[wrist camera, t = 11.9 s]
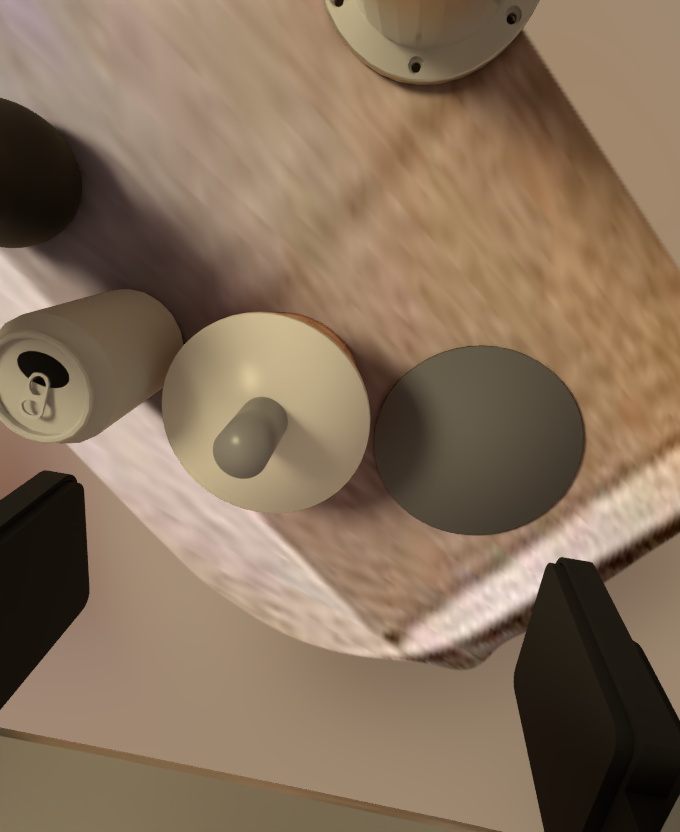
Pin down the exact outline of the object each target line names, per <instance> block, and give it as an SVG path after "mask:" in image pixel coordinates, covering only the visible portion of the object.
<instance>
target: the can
mask: <svg viewBox="0 0 680 832" xmlns="http://www.w3.org/2000/svg"><path fill="white" fill-rule="evenodd" d="M182 347H183V341H182V336H181V331H180V329H179V327H178V325H177V323H176V321H175V319H174V317H173V315H172V314H171V313H170V312H169V311H168V310H167V309H166V308H165V307H164V306H163V305H162V304H161V302H160V301H158V300H156V299H154V298H153V297H151V296H149V295H148V294H146V293H144V292H140V291H135V290H131V289H121V290H112V291H108V292H104V293H100V294H97V295H93V296H89V297H86V298H82V299H78V300H75V301H71V302H67V303H63V304H60V305H56V306H52V307H49V308H45V309H41V310H38V311H34V312H30V313H26V314H23V315H21V316H19V317H17V318H15V319H13V320H11V321H9V322H7V323H5V325H4V326H3V327H2V328H1V329H0V420H1V422H3V423H4V424H5V425H6V426H7V427H8V428H9V429H10V430H12V431H13V432H15V433H17V434H19V435H20V436H22V437H24V438H26V439H28V440H33V441H36V442H41V443H61V444H63V443H80V442H82V441H85V440H87V439H89V438H92V437H94V436H96V435H98V434H99V433H101V432H102V431H103V430H105V429H106V428H108V427H109V426H110V425H112V424H113V423H115V422H116V421H117V420H119V419H120V418H122V417H123V416H124V415H126V414H127V413H129V412H130V411H131V410H133V409H134V408H136V407H137V406H138V405H140V404H141V403H143V402H144V401H145V400H147V399H148V398H150V397H151V396H152V395H154V394H155V393H156V392H158V391H159V390H161V389H162V388H163V387H164V382H165V378H166V375H167V373H168V370H169V367H170V365H171V363H172V362H173V360H174V358H175V356H176V355H177V353H178V352H179V351H180V349H181V348H182Z"/></svg>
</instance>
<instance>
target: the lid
mask: <svg viewBox="0 0 680 832" xmlns="http://www.w3.org/2000/svg"><path fill="white" fill-rule="evenodd" d="M162 417H163V422H164V427H165V431H166V434H167V437H168V440H169V443H170V445H171V447H172V449H173V451H174V453H175V455H176V456H177V458H178V460H179V461H180V463H181V464H182V466H183V467H184V468H185V469H186V471H187V472H188V473H189V474H190V475H191V476H192V477H193V478H194V479H195V480H196V481H197V482H198V483H199V484H200V485H201V486H202V487H204V488H205V489H206V490H207V491H209V492H210V493H212V494H213V495H215V496H217V497H218V498H220V499H222V500H224V501H226V502H228V503H230V504H232V505H235V506H238V507H240V508H243V509H247V510H252V511H256V512H264V513H287V512H295V511H299V510H303V509H307V508H309V507H312V506H314V505H317V504H319V503H321V502H323V501H324V500H326V499H328V498H330V497H331V496H332V495H334V494H335V493H336V492H338V491H339V490H340V489H341V488H342V487H343V486H344V485H345V484H346V483H347V482H348V481H349V480H350V478H351V477H352V476H353V474H354V473H355V472H356V470H357V468H358V466H359V464H360V463H361V461H362V458H363V455H364V453H365V450H366V446H367V442H368V437H369V432H370V420H371V417H370V404H369V399H368V395H367V391H366V388H365V385H364V382H363V379H362V377H361V375H360V373H359V371H358V370H357V368H356V366H355V364H354V363H353V362H352V360H351V359H350V357H349V356H348V354H347V353H346V352H345V351H344V350H343V349H342V348H341V347H340V345H339V344H337V343H336V342H335V341H334V340H333V339H332V338H331V337H329V336H328V335H327V334H325V333H324V332H323V331H321V330H320V329H318V328H317V327H315V326H313V325H311V324H309V323H307V322H305V321H303V320H300V319H297V318H294V317H292V316H289V315H284V314H279V313H274V312H261V311H260V312H246V313H241V314H236V315H232V316H229V317H226V318H223V319H220V320H218V321H216V322H214V323H212V324H211V325H209V326H207V327H205V328H203V329H202V330H201V331H199V332H198V333H197V334H195V335H194V336H193V337H192V338H190V339H189V340H188V341H187V342H186V343H185V344H184V345H183V347H182V348H181V349H180V351H179V352H178V353H177V355H176V356H175V358H174V360H173V362H172V363H171V365H170V367H169V370H168V373H167V375H166V378H165V382H164V387H163V392H162Z"/></svg>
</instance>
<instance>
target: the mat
mask: <svg viewBox="0 0 680 832" xmlns="http://www.w3.org/2000/svg"><path fill="white" fill-rule="evenodd" d="M582 449H583V428H582V422H581V418H580V413H579V411H578V408H577V406H576V403H575V401H574V399H573V397H572V396H571V394H570V392H569V390H568V389H567V388H566V387H565V385H564V384H563V383H562V382H561V380H560V379H559V378H558V377H557V376H556V375H555V374H554V373H553V372H552V371H551V370H550V369H548V368H547V367H546V366H544V365H543V364H541V363H540V362H538V361H537V360H535V359H533V358H531V357H529V356H527V355H525V354H522V353H519V352H517V351H514V350H511V349H506V348H501V347H494V346H467V347H462V348H456V349H452V350H449V351H445V352H442V353H440V354H437V355H435V356H433V357H431V358H428V359H427V360H425V361H423V362H422V363H420V364H418V365H417V366H415V367H414V368H413V369H412V370H410V371H409V372H408V373H407V374H405V375H404V376H403V377H402V378H401V380H400V381H399V382H398V383H397V384H396V385H395V386H394V388H393V389H392V390H391V392H390V393H389V394H388V396H387V398H386V400H385V402H384V404H383V405H382V408H381V411H380V413H379V416H378V419H377V424H376V428H375V437H374V452H375V459H376V464H377V468H378V471H379V474H380V476H381V479H382V481H383V483H384V485H385V486H386V488H387V490H388V491H389V493H390V494H391V495H392V497H393V498H394V499H395V500H396V501H397V503H398V504H399V505H400V506H401V507H402V508H403V509H405V510H406V511H407V512H408V513H409V514H411V515H412V516H414V517H415V518H417V519H418V520H420V521H421V522H423V523H426V524H428V525H430V526H432V527H434V528H437V529H440V530H443V531H447V532H451V533H456V534H464V535H487V534H495V533H500V532H504V531H508V530H511V529H514V528H517V527H520V526H522V525H524V524H526V523H528V522H530V521H532V520H534V519H535V518H537V517H538V516H540V515H541V514H543V513H544V512H545V511H547V510H548V509H549V508H550V507H551V506H553V505H554V504H555V503H556V501H557V500H558V499H559V498H560V497H561V496H562V495H563V493H564V492H565V491H566V489H567V488H568V487H569V485H570V483H571V481H572V480H573V478H574V476H575V474H576V471H577V469H578V466H579V463H580V459H581V455H582Z"/></svg>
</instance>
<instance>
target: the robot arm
mask: <svg viewBox="0 0 680 832" xmlns="http://www.w3.org/2000/svg"><path fill="white" fill-rule="evenodd" d="M323 1H324V4H325V7H326V10H327V13H328V15H329V17H330V19H331V21H332V24H333V26H334V28H335V29H336V31H337V32H338V34H339V35H340V37H341V39H342V40H343V42H344V43H345V45H346V46H347V47H348V48H349V49H350V50H351V51H352V52H353V54H354V55H355V56H356V57H357V58H358V59H359V60H360V61H361V62H362V63H364V64H365V65H367V66H368V67H370V68H371V69H373V70H374V71H376V72H377V73H378V74H380V75H383V76H385V77H388V78H390V79H393V80H395V81H398V82H403V83H409V84H415V85H432V84H442V83H446V82H449V81H453V80H457V79H461V78H463V77H465V76H467V75H469V74H471V73H473V72H475V71H477V70H479V69H481V68H482V67H484V66H485V65H486V64H488V63H489V62H490V61H492V60H493V59H494V58H496V57H497V56H498V55H500V54H501V53H502V52H503V51H504V50H505V49H506V48H507V46H508V45H509V44H510V43H511V42H512V41H513V40H514V39H515V38H516V37H517V36H518V34H519V33H520V32H521V30H522V29H523V27H524V26H525V24H526V23H527V22H528V20H529V18H530V17H531V15H532V14H533V12H534V10H535V8H536V6H537V4H538V2H539V0H344V3H343V5H342V6H341V7H337V6H336V5H335V2H336V0H323ZM510 15H512V16H514V17H515V23H514V24H511V25H510V24H508V22H507V17H508V16H510ZM414 64H419V65H420V67H421V69H420V71H419V72H418V73H414V72H413V71H412V70H411V68H412V66H413V65H414ZM88 574H89V573H88V555H87V537H86V518H85V500H84V488H83V486H82V485H81V484H80V483H77V480H76V478H75V477H74V476H73V475H70V474H64V473H58V472H52V471H42V472H40V473H38V474H37V475H35V476H34V477H33V478H31V479H30V480H28V481H27V482H26V483H24V484H23V485H21V486H20V487H18V488H17V489H16V490H14V491H13V492H11V493H10V494H9V495H7V496H6V497H4V498H3V499H1V500H0V709H1V708H2V707H3V706H4V705H5V704H6V702H7V701H8V700H9V699H10V697H11V696H12V695H13V694H14V692H15V691H16V690H17V689H18V688H19V687H20V685H21V684H22V683H23V682H24V680H25V679H26V678H27V677H28V676H29V674H30V673H31V672H32V671H33V669H34V668H35V667H36V666H37V665H38V663H39V662H40V661H41V660H42V659H43V657H44V656H45V655H46V654H47V653H48V651H49V650H50V649H51V647H52V646H53V645H54V644H55V643H56V641H57V640H58V639H59V638H60V637H61V635H62V634H63V633H64V632H65V631H66V629H67V628H68V627H69V626H70V625H71V623H72V622H73V621H74V619H75V618H76V617H77V616H78V615H79V614H80V612H81V611H82V610H83V609H84V607H85V605H86V603H87V600H88V597H89V575H88ZM514 690H515V695H516V699H517V704H518V709H519V714H520V719H521V724H522V728H523V733H524V738H525V742H526V747H527V752H528V757H529V761H530V766H531V770H532V776H533V780H534V785H535V790H536V794H537V799H538V804H539V809H540V813H541V818H542V822H543V827H544V832H680V720H679V718H678V716H677V714H676V712H675V710H674V709H673V707H672V705H671V703H670V701H669V699H668V697H667V695H666V693H665V691H664V689H663V688H662V686H661V684H660V682H659V680H658V678H657V676H656V674H655V672H654V670H653V668H652V667H651V665H650V663H649V661H648V659H647V657H646V655H645V653H644V651H643V650H642V648H641V647H640V645H639V644H638V643H636V642H635V641H633V640H632V638H631V636H630V635H629V632H628V630H627V628H626V626H625V625H624V623H623V621H622V619H621V617H620V615H619V613H618V611H617V609H616V607H615V605H614V603H613V601H612V599H611V597H610V595H609V593H608V591H607V589H606V587H605V585H604V583H603V581H602V579H601V577H600V575H599V574H598V572H597V570H596V568H595V566H594V565H593V563H591V562H587V561H581V560H575V559H569V558H563V557H561V558H559V559H558V560H557V562H556V564H553V563H549V564H548V565H547V566H546V568H545V571H544V575H543V578H542V581H541V585H540V588H539V591H538V594H537V598H536V601H535V604H534V608H533V611H532V614H531V618H530V621H529V624H528V628H527V631H526V634H525V638H524V641H523V644H522V648H521V651H520V654H519V658H518V661H517V664H516V668H515V672H514ZM0 832H501V831H496V830H492V829H488V828H484V827H479V826H475V825H470V824H466V823H462V822H457V821H453V820H449V819H444V818H439V817H434V816H429V815H425V814H420V813H415V812H411V811H406V810H401V809H396V808H392V807H386V806H382V805H377V804H373V803H368V802H363V801H358V800H353V799H349V798H344V797H339V796H334V795H330V794H325V793H320V792H316V791H311V790H306V789H301V788H297V787H292V786H287V785H282V784H277V783H272V782H268V781H263V780H258V779H253V778H248V777H243V776H238V775H233V774H229V773H224V772H219V771H214V770H209V769H204V768H199V767H195V766H190V765H185V764H180V763H175V762H169V761H165V760H160V759H155V758H150V757H146V756H140V755H135V754H131V753H126V752H121V751H116V750H111V749H106V748H101V747H96V746H91V745H86V744H81V743H76V742H70V741H66V740H61V739H55V738H50V737H45V736H40V735H35V734H30V733H25V732H20V731H15V730H10V729H5V728H0Z"/></svg>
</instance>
